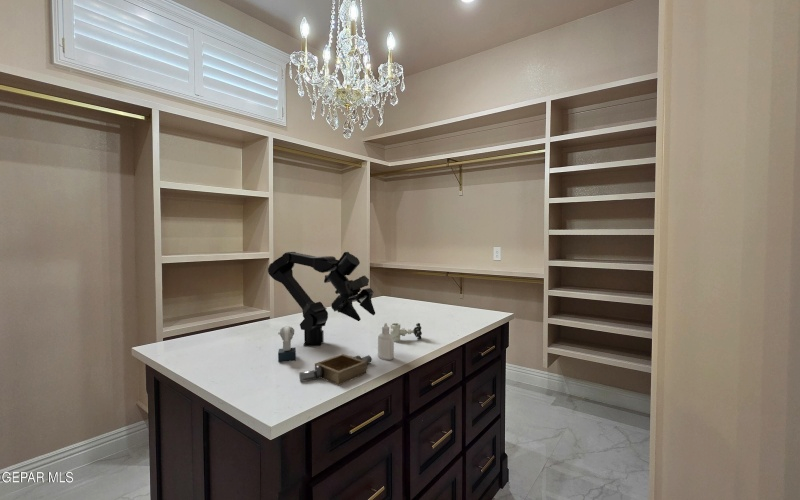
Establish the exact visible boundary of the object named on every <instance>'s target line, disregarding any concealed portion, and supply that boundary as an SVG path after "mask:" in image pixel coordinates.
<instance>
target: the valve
mask: <svg viewBox="0 0 800 500" xmlns="http://www.w3.org/2000/svg"><path fill="white" fill-rule="evenodd" d="M389 334H391V335H392V336H393V338H394V343H398V342H400V341H401V336H402V337H405V336H406V335H412V334H413V335H414V336H415V338H416V339H417V340H422V334H423V331H422V326H421V323H419V322H417V323H416V325H415V327H414V328H413V329H405V327H404V328H401V324H400V323H398V322H397V323H396V322H394V323H391V324H390V330H389Z"/></svg>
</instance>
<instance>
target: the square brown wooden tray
mask: <svg viewBox="0 0 800 500" xmlns="http://www.w3.org/2000/svg"><path fill="white" fill-rule="evenodd" d="M354 357H355V356H351V355H347V354H345V353H341V354H337V355H336V356H333V357H330V358H327V359H324V360H321V361H318V362H315V363H314V367H315V366H318V365H321V366H322V371H323V377H322V378H321V379H323V380H326V381H327V382H330V383H332V384H335V385H337V386H340V385H343V384H344V383H347V382H349V381H352V380H354V379H356V378H359V377H361V376H363V375H365V374H367V373H368V372H367V365H368V364H367V362H366V361H363V360H360V359H357V358H354Z"/></svg>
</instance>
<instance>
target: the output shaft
mask: <svg viewBox="0 0 800 500" xmlns="http://www.w3.org/2000/svg"><path fill="white" fill-rule="evenodd" d="M298 377H299V378H298V379H299V382H304V381H311V380H316V379H323V378H322V377H323V371H322V366H321V365H318V366H315V365H314V369H313V370H308V371H302V372H301V371H300V372H299V376H298Z"/></svg>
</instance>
